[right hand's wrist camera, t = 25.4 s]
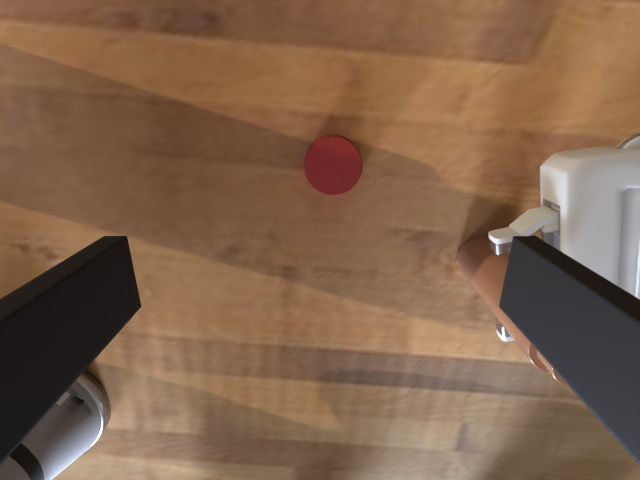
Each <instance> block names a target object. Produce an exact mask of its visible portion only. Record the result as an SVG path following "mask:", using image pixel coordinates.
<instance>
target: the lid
mask: <svg viewBox="0 0 640 480" xmlns="http://www.w3.org/2000/svg"><path fill="white" fill-rule="evenodd" d="M304 171H305V175H306V178H307V180H308V182H309V183H310V184H311V185H312V187H313V188H315V189H316V190H317V191H319V192H321V193H323V194H327V195H339V194H342V193H345V192H347V191H348V190H350V189H351V188H352V187H353V186H354V185H355V184H356V183H357V181H358V180H359V178H360V175H361V171H362V160H361V156H360V154H359V152H358V150H357V148H356V147H355V146H354V144H353V143H352V142H351V141H349V140H348V139H346V138H345V137H342V136H338V135H328V136H324V137H322V138H320V139H318V140H317V141H315V142H314V143H313V144H312V145H311V147H310V148H309V150H308V152H307V155H306V158H305V162H304Z"/></svg>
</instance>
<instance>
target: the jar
mask: <svg viewBox="0 0 640 480" xmlns="http://www.w3.org/2000/svg"><path fill="white" fill-rule="evenodd" d="M509 254H510V252H508V253H506V254H503V255H497V254H495V253H494V252H493V250H491V249H490V246H489V237H476V238H473V239H470V240H469V241H467V242H466V243H464V244H463V245H462V246H461V248H460V249H459V251H458V253H457V257H456V263H457V267H458V269H459V270H460V272H461V273H462V274H463V275H464V277H465V278H466V279H467V280H468V282H469V283H470V284H471V286H472V287H473V288H474V289H475V291H476V292H477V293H478V294H479V296H480V297H481V298H482V300H483V301H484V302H485V303H486V305H487V306H488V307H489V308H490V310H491V311H492V312H493V314H494V315H495V316H496V317H497V319H498V320H499V321H500V322H501V324H502V325H503V326H504V328H505V329H506V330H507V331H508V333H509V334H510V335H511V336H512V338H513V339H514V340H515V342H516V343H517V344H518V345H519V347H520V348H521V349H522V350H523V352H524V353H525V354H526V356H527V357H528V358H529V359H530V361H531V362H532V363H533V364H534V365H535V366H536V367H537V368H539V369H540V370H542V371H545V372H549V373H551V374H552V376H553V377H554V378H555V379H556V380H557V381H558V382H559V383H561V384H563V385H565V386H568V387H570V386H569V385H568V384H567V383H566V382H565V381H564V380H563V379H562V377H561V376H560V375H559V374H558V373H557V372H556V371H555V370H554V368H553V367H552V366H551V365H550V364H549V363H548V362H547V361H546V359H545V358H544V357H543V356H542V355H541V354H540V353H539V351H538V350H537V349H536V348H535V347H534V346H533V345H532V344H531V342H530V341H529V340H528V339H527V338H526V337H525V336H524V335H523V333H522V332H521V331H520V330H519V329H518V328H517V327H516V326H515V324H514V323H513V322H512V321H511V320H510V319H509V318H508V317H507V315H506V314H505V313H504V312H503V311H502V310H501V309H500V307H499V303H500V298H501V293H502V288H503V283H504V278H505V274H506V269H507V264H508V259H509Z"/></svg>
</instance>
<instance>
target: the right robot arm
mask: <svg viewBox="0 0 640 480" xmlns="http://www.w3.org/2000/svg"><path fill="white" fill-rule="evenodd" d="M140 307H141V303H140V298H139V293H138V288H137V283H136V278H135V274H134V269H133V264H132V259H131V254H130V249H129V244H128V239H127V236H104V237H102V238H100V239H99V240H97V241H95V242H94V243H92V244H91V245H89V246H87V247H86V248H84V249H82V250H81V251H79V252H77V253H76V254H74V255H72V256H71V257H69V258H67V259H66V260H64V261H63V262H61V263H59V264H58V265H56V266H54V267H53V268H51V269H49V270H48V271H46V272H44V273H43V274H41V275H40V276H38V277H36V278H35V279H33V280H31V281H30V282H28V283H26V284H25V285H23V286H21V287H20V288H18V289H16V290H15V291H13V292H12V293H10V294H8V295H7V296H5V297H3V298H2V299H0V480H52V479H53V478H54V477H55V476H56V475H58V474H59V473H60V472H61V471H62V470H64V469H65V468H66V467H67V466H68V465H70V464H71V463H72V462H73V461H75V460H76V459H77V458H78V457H79V456H81V455H82V454H83V453H84V452H85V451H87V450H88V449H89V448H90V447H91V446H92V445H93V444H94V443H95V442H96V441H97V439H98V438H99V436H100V435H101V433H102V432H103V430H104V429H105V428H106V426H107V424H108V421H109V418H110V405H109V401H108V398H107V395H106V393H105V391H104V390H103V388H102V386H101V385H100V384H99V382H98V381H97V380H96V379H95V378H94V377H93V376H92V375H91V374H90V373H89V372H88V371H87V370H86V368H87V367H88V366H89V365H90V364H91V363H92V362H93V361H94V359H95V358H96V357H97V356H98V355H99V354H100V353H101V351H102V350H103V349H104V348H105V347H106V346H107V345H108V344H109V342H110V341H111V340H112V339H113V338H114V337H115V336H116V335H117V333H118V332H119V331H120V330H121V329H122V328H123V327H124V326H125V324H126V323H127V322H128V321H129V320H130V319H131V318H132V317H133V315H134V314H135V313H136V312H137V311H138V310H139V309H140ZM499 307H500V309H501V310H502V311H503V312H504V313H505V314H506V315H507V317H508V318H509V319H510V320H511V321H512V322H513V323H514V324H515V326H516V327H517V328H518V329H519V330H520V331H521V332H522V333H523V335H524V336H525V337H526V338H527V339H528V340H529V341H530V342H531V344H532V345H533V346H534V347H535V348H536V349H537V350H538V351H539V353H540V354H541V355H542V356H543V357H544V358H545V359H546V361H547V362H548V363H549V364H550V365H551V366H552V367H553V368H554V370H555V371H556V372H557V373H558V374H559V375H560V376H561V377H562V379H563V380H564V381H565V382H566V383H567V384H568V385H569V386H570V388H571V389H572V390H573V391H574V392H575V393H576V394H577V396H578V397H579V398H580V399H581V400H582V401H583V402H584V403H585V405H586V406H587V407H588V408H589V409H590V410H591V411H592V412H593V414H594V415H595V416H596V417H597V418H598V419H599V420H600V421H601V423H602V424H603V425H604V426H605V427H606V428H607V429H608V430H609V432H610V433H611V434H612V435H613V436H614V437H615V438H616V440H617V441H618V442H619V443H620V444H621V445H622V446H623V447H624V449H625V450H626V451H627V452H628V453H629V454H630V455H631V456H632V458H633V459H634V460H635V461H636V462H637V463H638V464H639V465H640V299H638V298H637V297H635V296H633V295H632V294H630V293H628V292H627V291H625V290H624V289H622V288H620V287H619V286H617V285H615V284H614V283H612V282H610V281H609V280H607V279H605V278H604V277H602V276H600V275H599V274H597V273H596V272H594V271H592V270H591V269H589V268H587V267H586V266H584V265H582V264H581V263H579V262H577V261H576V260H574V259H573V258H571V257H569V256H568V255H566V254H564V253H563V252H561V251H559V250H558V249H556V248H554V247H553V246H551V245H549V244H548V243H546V242H545V241H543V240H541V239H540V238H538V237H536V236H513V239H512V244H511V249H510V254H509V259H508V264H507V269H506V274H505V278H504V283H503V288H502V293H501V298H500V303H499Z"/></svg>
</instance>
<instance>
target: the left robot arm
mask: <svg viewBox="0 0 640 480" xmlns="http://www.w3.org/2000/svg"><path fill="white" fill-rule="evenodd" d="M540 192H541V207H536V208H532V209H528V210H527V211H526V212H525V213H523V214H522V215H521V216H520V217H518V218H517V219H516V220H515V221H513V222H512V223H511V224H510V225H509V227H506V228H501V229H496V230H492V231H489V233H488V235H489V246H490V249H491V250H493V252H494V253H495V254H497V255H503V254H506V253H508V252H510V249H511V244H512V239H513V236H530V235H531V234H533V233H534V232H536V231H537V230H541V235H542V240H543V241H545V242H546V243H548V244H549V245H551V246H553V247H554V248H556V249H558V250H559V251H561V252H563V253H564V254H566V255H568V256H569V257H571V258H573V259H574V260H576V261H577V262H579V263H581V264H582V265H584V266H586V267H587V268H589V269H591V270H592V271H594V272H596V273H597V274H599V275H600V276H602V277H604V278H605V279H607V280H609V281H610V282H612V283H614V284H615V285H617V286H619V287H620V288H622V289H624V290H625V291H627V292H628V293H630V294H632V295H633V296H635V297H637V298H638V299H640V134H636V135H633V136H630V137H628V138H626V139H625V140H623V141H622V142H621V143H620V144H619V145H618V146H600V147H589V148H580V149H573V150H567V151H562V152H557V153H554V154H552V155H551V156H550V157H549V158H548V159H547V160H546V161H545V162H544V163H543V164H542V165H541V167H540ZM496 333H497V334H498V336H499V337H500V338H501V340H503V341H506V342H509V341H515V340H514V339H513V338H512V336H511V335H510V334H509V333H508V331H507V330H506V329H505V328H504V326H503V325H502V324H501V322H500V321H499V320H498V319H497V318H496Z"/></svg>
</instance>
